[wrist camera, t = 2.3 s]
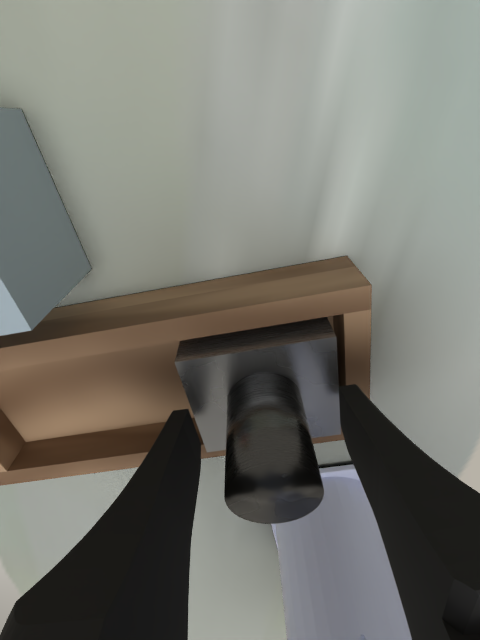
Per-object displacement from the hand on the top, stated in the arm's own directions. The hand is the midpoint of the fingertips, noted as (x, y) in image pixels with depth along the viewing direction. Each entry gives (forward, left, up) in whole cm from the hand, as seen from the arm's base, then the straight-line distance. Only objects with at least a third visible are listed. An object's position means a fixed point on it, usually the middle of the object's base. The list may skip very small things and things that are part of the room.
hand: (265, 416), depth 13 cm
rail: (0, +5, -5) cm, 7 cm away
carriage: (0, 0, -3) cm, 3 cm away
